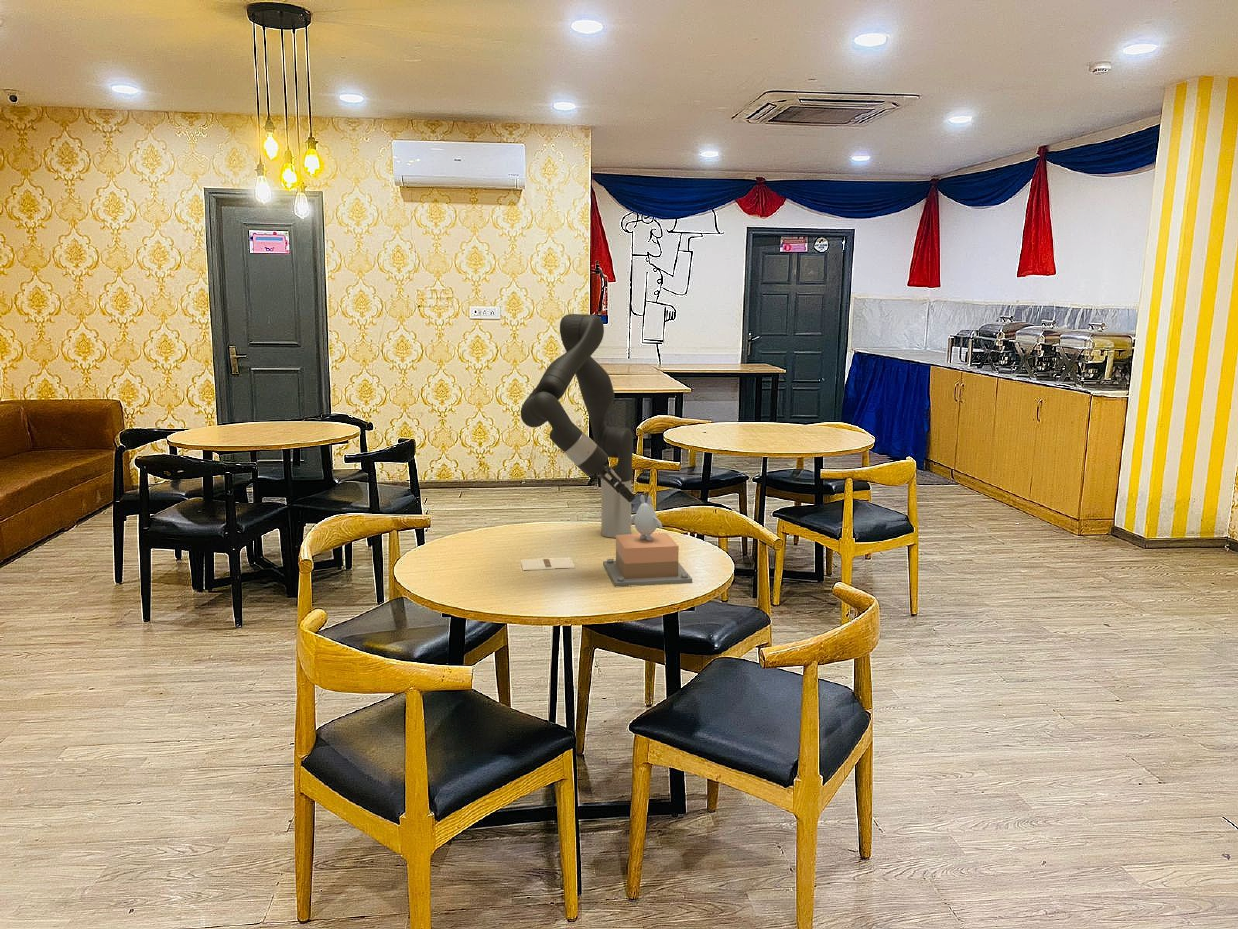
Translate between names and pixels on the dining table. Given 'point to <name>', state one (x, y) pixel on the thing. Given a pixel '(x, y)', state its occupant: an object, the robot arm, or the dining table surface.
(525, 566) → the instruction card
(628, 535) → the orange square pedestal
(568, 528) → the dining table surface
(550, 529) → the dining table surface
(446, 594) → the dining table surface
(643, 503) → the toy figure
